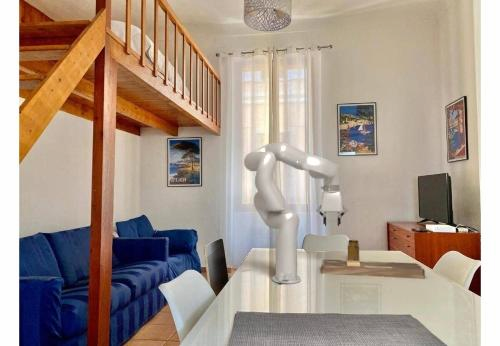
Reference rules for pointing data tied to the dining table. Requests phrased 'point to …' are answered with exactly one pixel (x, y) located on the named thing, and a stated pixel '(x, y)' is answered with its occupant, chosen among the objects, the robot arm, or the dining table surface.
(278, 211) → the robot arm
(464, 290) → the dining table surface
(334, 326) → the dining table surface
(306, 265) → the dining table surface
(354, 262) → the block
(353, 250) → the condiment
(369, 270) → the box
